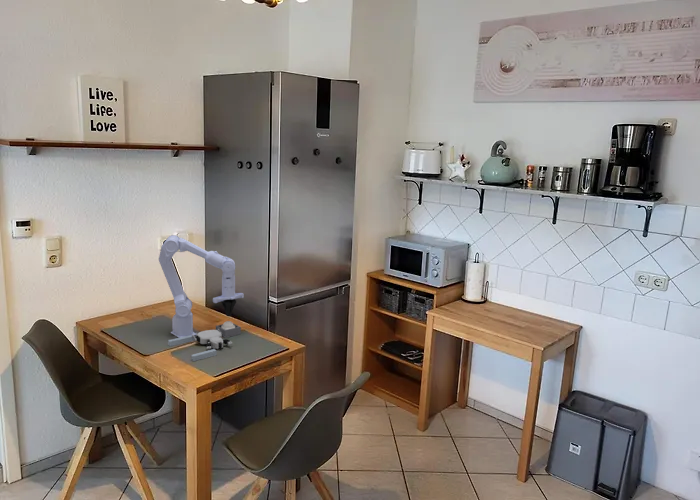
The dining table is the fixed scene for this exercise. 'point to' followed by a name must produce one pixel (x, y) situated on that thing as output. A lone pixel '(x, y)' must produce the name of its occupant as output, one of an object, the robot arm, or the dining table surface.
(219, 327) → the dome collar
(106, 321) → the dining table surface
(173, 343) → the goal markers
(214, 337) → the robot toy
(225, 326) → the dome button
